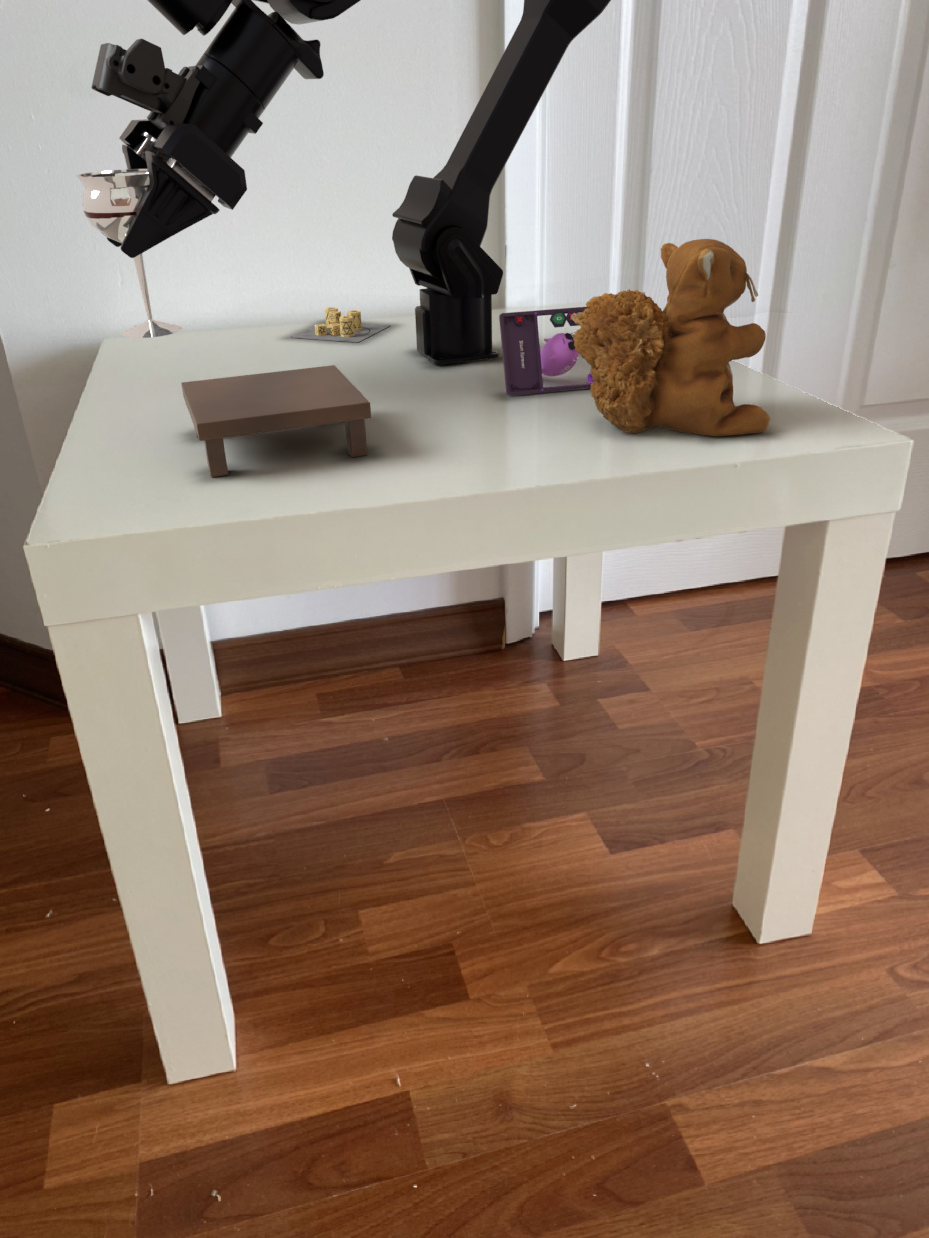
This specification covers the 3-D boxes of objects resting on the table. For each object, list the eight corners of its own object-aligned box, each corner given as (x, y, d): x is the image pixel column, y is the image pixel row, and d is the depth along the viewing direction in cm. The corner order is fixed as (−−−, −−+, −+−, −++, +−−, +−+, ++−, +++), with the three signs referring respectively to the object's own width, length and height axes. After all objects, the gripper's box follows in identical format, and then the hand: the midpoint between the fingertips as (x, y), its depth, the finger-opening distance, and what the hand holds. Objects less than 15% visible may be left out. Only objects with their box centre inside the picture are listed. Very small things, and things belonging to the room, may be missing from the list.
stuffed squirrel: (779, 433, 71) (806, 246, 65) (599, 451, 69) (608, 259, 62) (720, 396, 80) (739, 227, 73) (559, 410, 77) (563, 237, 71)
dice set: (330, 324, 106) (328, 307, 106) (371, 327, 105) (369, 309, 104) (307, 335, 102) (305, 316, 101) (350, 338, 101) (348, 319, 100)
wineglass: (191, 336, 77) (163, 174, 71) (104, 343, 76) (68, 179, 70) (195, 318, 83) (170, 167, 77) (115, 324, 82) (82, 171, 76)
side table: (339, 413, 78) (334, 364, 76) (374, 456, 69) (370, 402, 67) (189, 432, 75) (180, 382, 73) (205, 480, 66) (196, 424, 64)
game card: (502, 312, 79) (604, 304, 81) (486, 321, 84) (583, 313, 86) (510, 395, 80) (610, 385, 82) (494, 399, 85) (589, 389, 87)
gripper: (122, 6, 77) (12, 167, 78) (171, -13, 62) (35, 185, 64) (233, 112, 84) (131, 258, 85) (301, 116, 69) (176, 293, 71)
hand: (118, 248), depth 76 cm, fingers closed on wineglass, 6 cm apart
